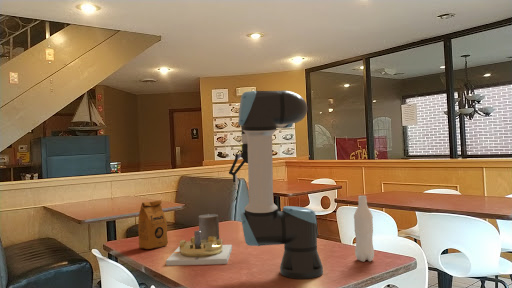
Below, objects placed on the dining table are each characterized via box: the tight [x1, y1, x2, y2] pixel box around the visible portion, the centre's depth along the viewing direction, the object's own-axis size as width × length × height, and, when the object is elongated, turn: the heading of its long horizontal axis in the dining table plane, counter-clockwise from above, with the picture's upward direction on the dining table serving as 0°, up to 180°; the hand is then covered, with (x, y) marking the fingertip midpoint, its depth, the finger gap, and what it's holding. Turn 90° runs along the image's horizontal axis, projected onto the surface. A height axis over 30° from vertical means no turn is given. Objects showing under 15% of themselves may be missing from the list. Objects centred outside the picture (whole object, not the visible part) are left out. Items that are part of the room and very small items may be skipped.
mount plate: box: [165, 244, 233, 267], centre depth 169 cm, size 24×24×2 cm
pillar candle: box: [198, 212, 220, 240], centre depth 193 cm, size 10×10×15 cm
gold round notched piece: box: [179, 230, 223, 257], centre depth 169 cm, size 18×18×10 cm
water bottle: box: [353, 195, 375, 262], centre depth 156 cm, size 7×7×25 cm
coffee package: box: [137, 199, 169, 250], centre depth 190 cm, size 10×12×22 cm
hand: (251, 189), depth 185 cm, fingers open, 13 cm apart
